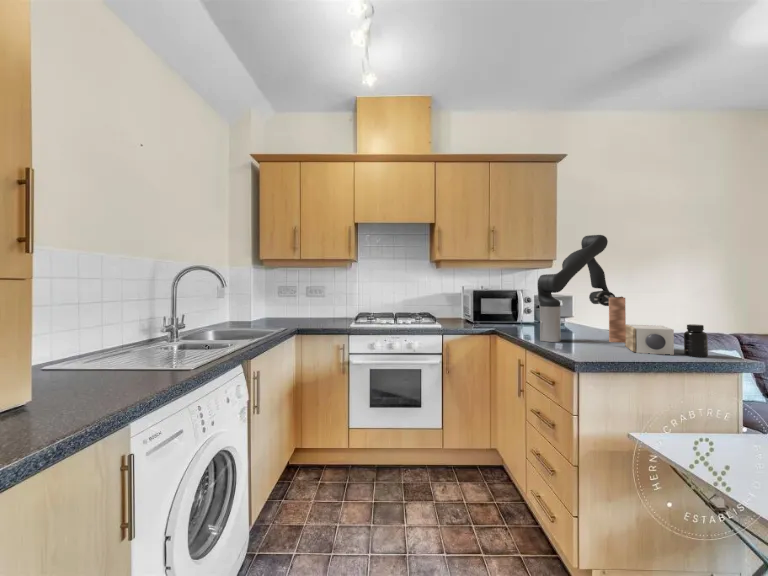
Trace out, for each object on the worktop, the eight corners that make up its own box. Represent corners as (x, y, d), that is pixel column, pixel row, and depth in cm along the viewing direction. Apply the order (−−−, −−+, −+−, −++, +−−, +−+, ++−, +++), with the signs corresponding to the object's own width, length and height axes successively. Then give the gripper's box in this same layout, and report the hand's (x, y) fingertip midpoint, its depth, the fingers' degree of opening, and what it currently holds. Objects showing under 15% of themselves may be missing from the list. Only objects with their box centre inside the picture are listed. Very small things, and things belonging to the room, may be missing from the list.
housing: (637, 353, 137) (637, 328, 137) (628, 347, 152) (628, 324, 151) (675, 355, 132) (675, 330, 132) (662, 348, 147) (661, 325, 146)
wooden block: (615, 350, 142) (615, 298, 142) (609, 345, 154) (608, 297, 154) (635, 351, 139) (635, 298, 139) (627, 346, 152) (627, 297, 152)
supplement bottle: (698, 354, 135) (697, 323, 135) (713, 357, 128) (712, 325, 128) (679, 354, 136) (679, 323, 136) (693, 357, 129) (693, 325, 129)
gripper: (590, 291, 182) (595, 292, 166) (620, 291, 176) (628, 292, 160) (591, 305, 182) (596, 307, 166) (620, 305, 176) (628, 308, 161)
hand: (612, 300), depth 163 cm, fingers closed
